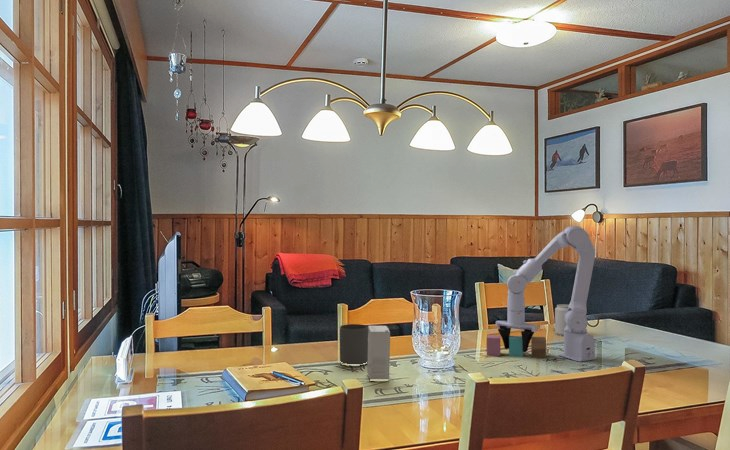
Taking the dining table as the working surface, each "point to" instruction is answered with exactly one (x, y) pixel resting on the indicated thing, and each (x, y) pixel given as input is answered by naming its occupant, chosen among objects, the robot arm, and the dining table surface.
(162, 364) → the dining table surface
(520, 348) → the teal block
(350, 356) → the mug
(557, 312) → the can
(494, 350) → the plum block
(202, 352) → the dining table surface
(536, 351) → the walnut block
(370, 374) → the skincare box
